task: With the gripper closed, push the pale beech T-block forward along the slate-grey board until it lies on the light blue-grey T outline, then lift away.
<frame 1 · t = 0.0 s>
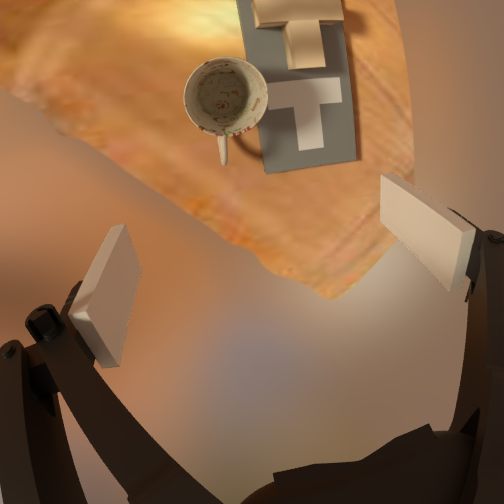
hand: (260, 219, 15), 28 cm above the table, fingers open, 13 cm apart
t block: (294, 25, 32), point 1 cm above the table, touching board
board: (299, 76, 37), on the table
mug: (222, 109, 38), on the table
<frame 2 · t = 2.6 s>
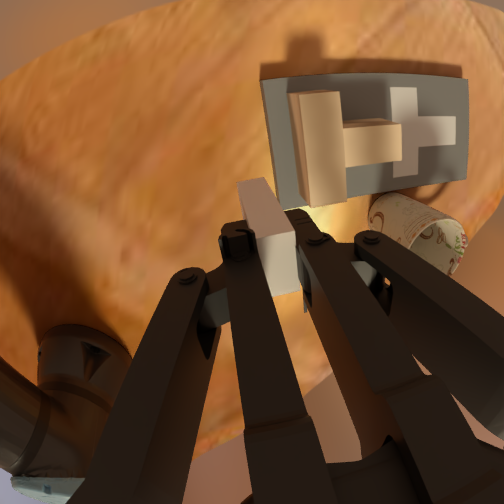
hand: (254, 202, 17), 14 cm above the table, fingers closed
t block: (327, 139, 29), point 1 cm above the table, touching board
board: (381, 131, 31), on the table
mug: (401, 213, 36), on the table
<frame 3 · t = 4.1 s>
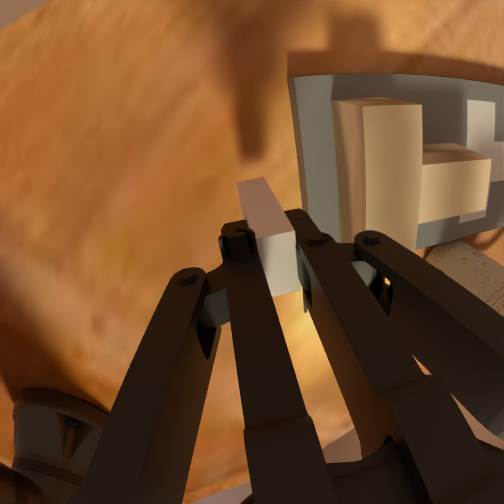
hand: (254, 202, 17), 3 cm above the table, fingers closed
t block: (385, 173, 19), point 1 cm above the table, touching board
board: (449, 159, 20), on the table
mug: (457, 262, 26), on the table
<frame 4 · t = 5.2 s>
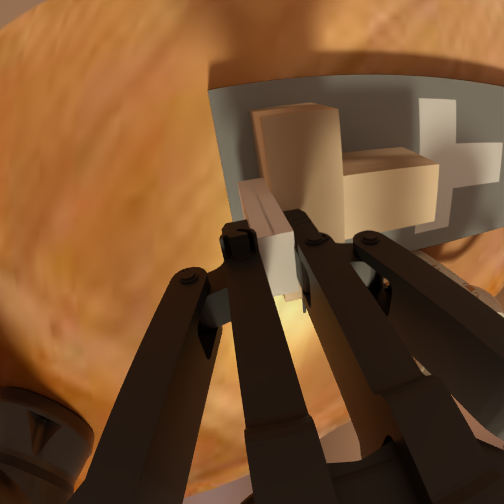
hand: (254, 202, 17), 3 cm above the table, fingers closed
t block: (318, 183, 19), point 1 cm above the table, touching board, gripper
board: (402, 164, 20), on the table
mug: (420, 274, 26), on the table
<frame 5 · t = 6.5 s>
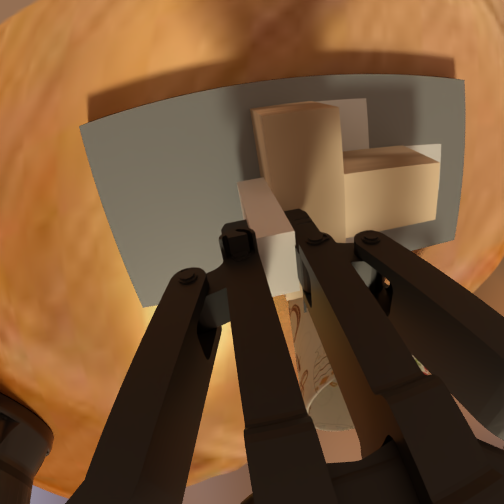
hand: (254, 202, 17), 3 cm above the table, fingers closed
t block: (319, 182, 19), point 2 cm above the table
board: (304, 177, 20), on the table
mug: (346, 293, 26), on the table
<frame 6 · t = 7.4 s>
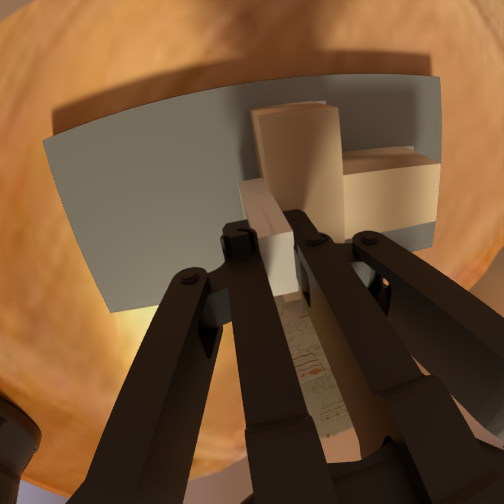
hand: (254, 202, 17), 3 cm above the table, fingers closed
t block: (319, 183, 19), point 1 cm above the table, touching board, gripper
board: (264, 184, 20), on the table
mug: (317, 301, 26), on the table
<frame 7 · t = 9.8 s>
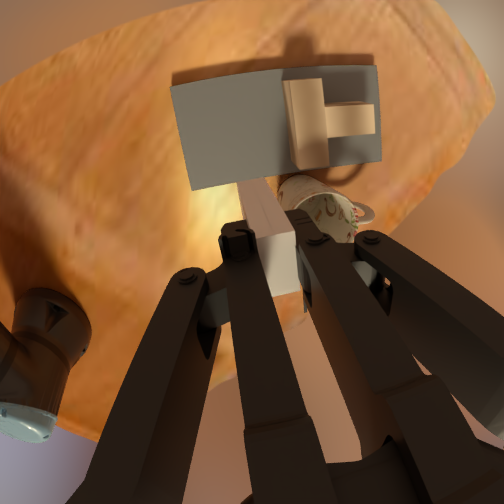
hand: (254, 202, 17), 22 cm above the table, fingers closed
t block: (314, 118, 35), point 1 cm above the table, touching board
board: (283, 120, 36), on the table
mug: (314, 194, 42), on the table
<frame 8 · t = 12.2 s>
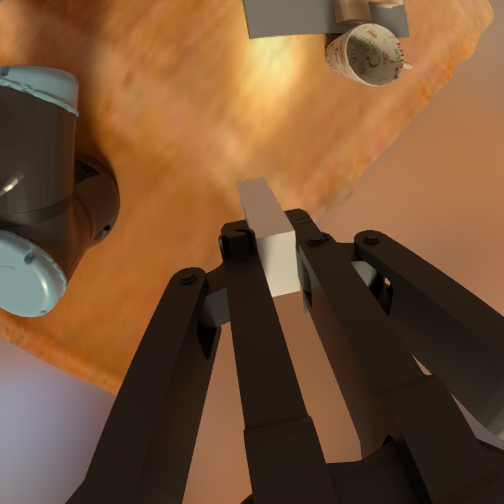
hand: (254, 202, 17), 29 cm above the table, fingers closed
mug: (355, 58, 39), on the table
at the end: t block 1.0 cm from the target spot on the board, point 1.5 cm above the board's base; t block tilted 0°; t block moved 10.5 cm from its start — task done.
